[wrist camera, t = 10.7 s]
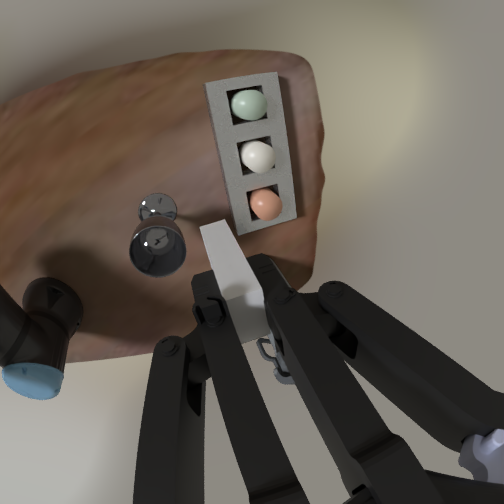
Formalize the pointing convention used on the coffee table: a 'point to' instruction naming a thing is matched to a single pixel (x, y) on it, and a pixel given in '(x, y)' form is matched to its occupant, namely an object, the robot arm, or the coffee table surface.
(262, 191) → the brown egg
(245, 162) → the white egg
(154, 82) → the coffee table surface
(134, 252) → the wine glass
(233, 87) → the panel
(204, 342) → the robot arm
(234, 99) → the pale green rounded egg
